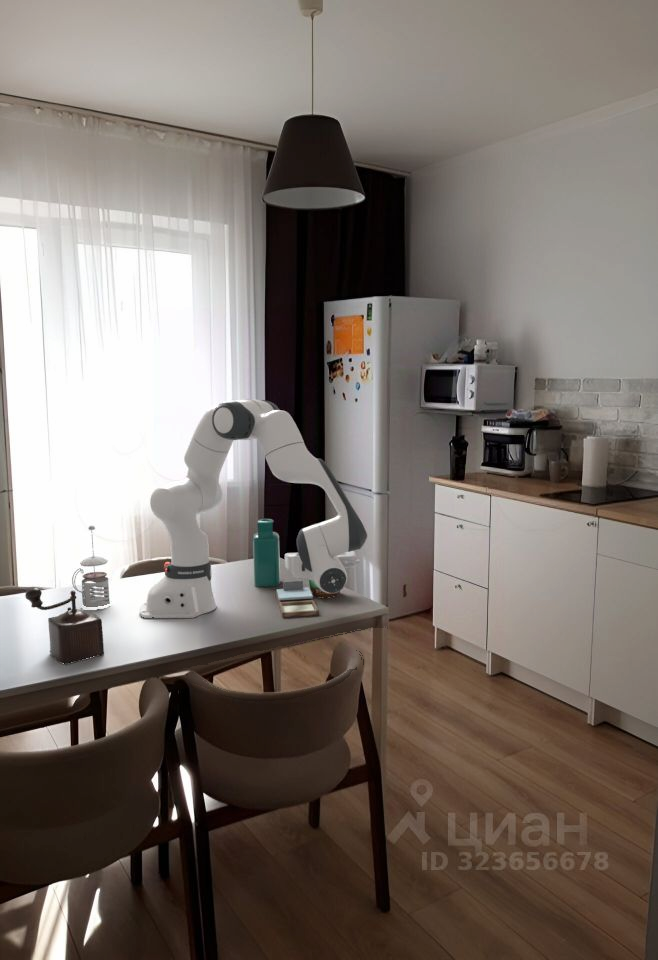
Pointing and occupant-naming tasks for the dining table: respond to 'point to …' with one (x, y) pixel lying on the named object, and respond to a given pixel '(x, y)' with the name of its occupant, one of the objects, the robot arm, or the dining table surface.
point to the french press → (94, 577)
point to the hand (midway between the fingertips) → (316, 553)
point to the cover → (294, 590)
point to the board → (297, 607)
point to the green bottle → (266, 555)
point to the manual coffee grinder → (71, 630)
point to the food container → (320, 591)
